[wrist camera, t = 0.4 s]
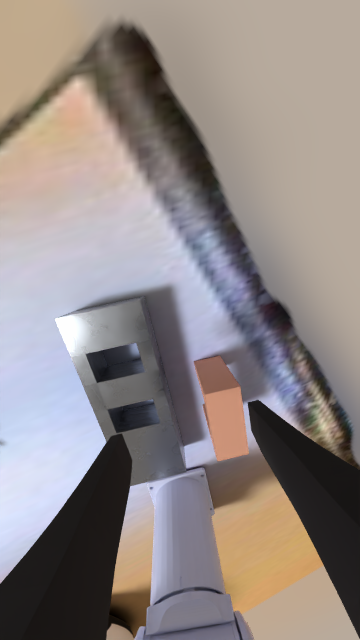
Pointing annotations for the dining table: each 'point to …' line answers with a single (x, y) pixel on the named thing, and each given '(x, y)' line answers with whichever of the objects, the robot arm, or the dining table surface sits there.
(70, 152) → the dining table surface
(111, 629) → the milk container
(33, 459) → the dining table surface
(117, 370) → the gray rectangular frame
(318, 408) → the dining table surface
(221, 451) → the orange u-shaped block
